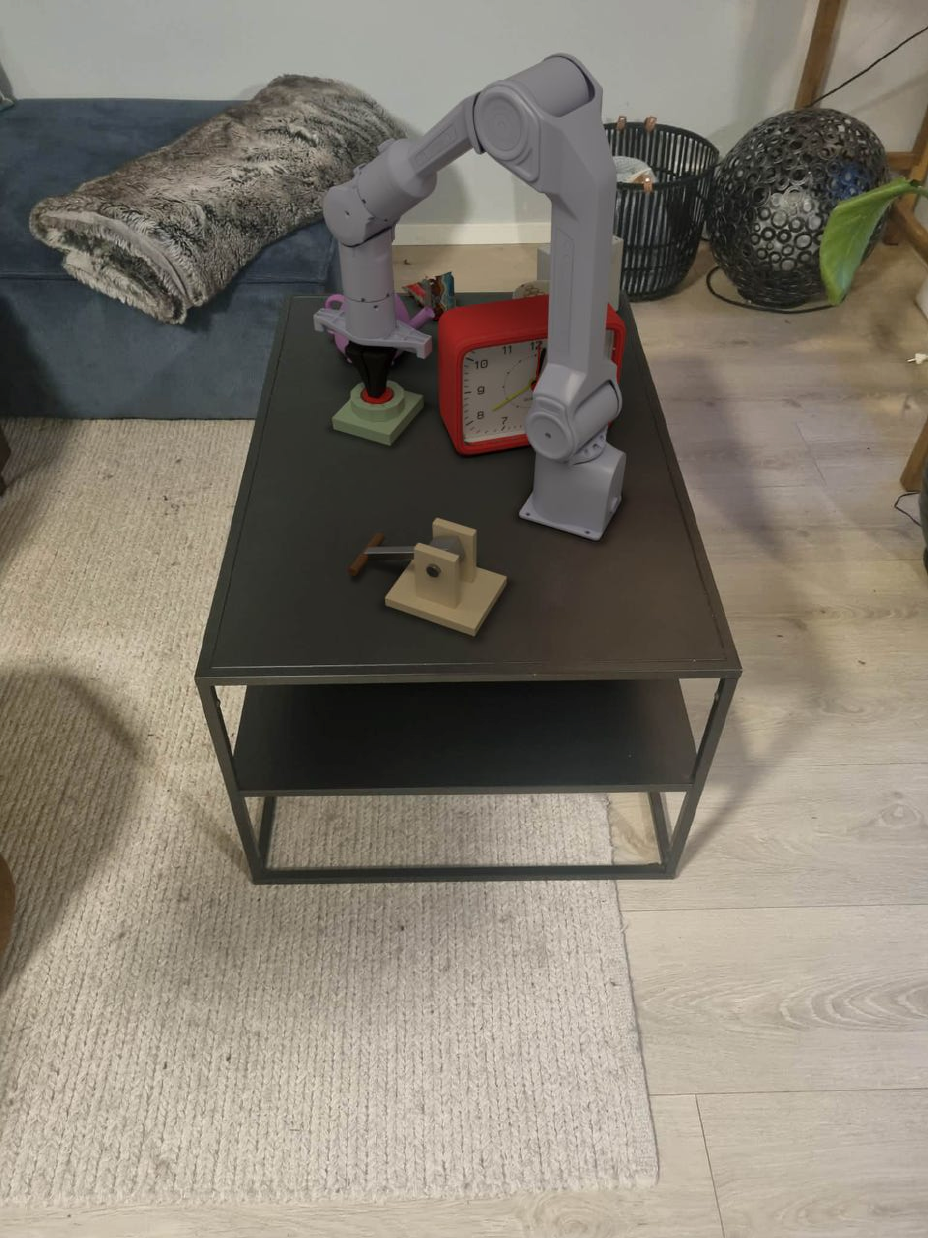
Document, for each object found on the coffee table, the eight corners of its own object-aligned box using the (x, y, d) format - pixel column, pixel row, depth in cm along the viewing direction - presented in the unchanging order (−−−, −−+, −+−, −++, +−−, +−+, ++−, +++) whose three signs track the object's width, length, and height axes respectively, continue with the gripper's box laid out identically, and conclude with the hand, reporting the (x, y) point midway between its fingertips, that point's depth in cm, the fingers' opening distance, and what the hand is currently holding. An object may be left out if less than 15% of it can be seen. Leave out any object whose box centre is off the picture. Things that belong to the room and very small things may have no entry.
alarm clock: (435, 416, 117) (432, 300, 105) (585, 392, 120) (598, 276, 108) (455, 463, 110) (454, 344, 99) (613, 436, 114) (630, 318, 102)
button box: (423, 406, 118) (423, 382, 115) (390, 446, 113) (388, 422, 110) (368, 391, 120) (366, 367, 118) (333, 429, 115) (330, 405, 112)
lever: (353, 581, 96) (343, 563, 95) (380, 544, 100) (371, 527, 98) (448, 581, 89) (439, 562, 88) (474, 542, 93) (466, 523, 92)
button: (397, 401, 116) (397, 389, 114) (384, 417, 113) (383, 404, 112) (372, 394, 117) (371, 382, 115) (358, 409, 114) (357, 397, 113)
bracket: (385, 605, 95) (380, 549, 89) (420, 556, 100) (418, 500, 94) (474, 637, 92) (475, 581, 86) (506, 584, 97) (509, 528, 91)
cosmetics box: (589, 293, 137) (594, 222, 129) (618, 311, 133) (626, 239, 126) (533, 316, 133) (535, 244, 125) (562, 335, 129) (566, 262, 122)
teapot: (339, 326, 131) (332, 263, 124) (443, 338, 129) (442, 274, 122) (316, 367, 124) (308, 302, 117) (426, 379, 122) (424, 314, 115)
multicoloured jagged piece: (393, 241, 134) (430, 231, 135) (399, 288, 139) (434, 277, 140) (427, 278, 126) (465, 266, 128) (432, 325, 132) (468, 314, 133)
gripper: (443, 287, 104) (444, 391, 114) (330, 260, 108) (342, 363, 118) (414, 317, 100) (418, 422, 110) (298, 288, 104) (312, 392, 114)
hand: (377, 393), depth 114 cm, fingers closed, pressing on button
